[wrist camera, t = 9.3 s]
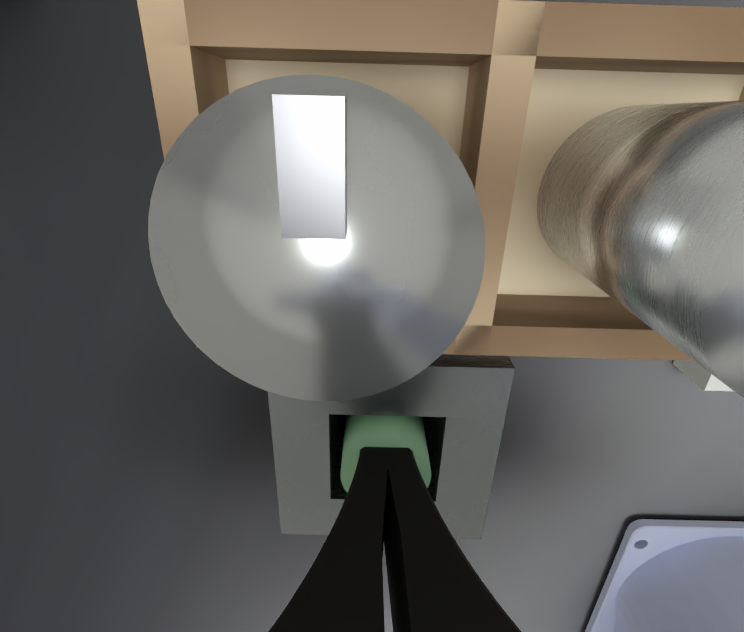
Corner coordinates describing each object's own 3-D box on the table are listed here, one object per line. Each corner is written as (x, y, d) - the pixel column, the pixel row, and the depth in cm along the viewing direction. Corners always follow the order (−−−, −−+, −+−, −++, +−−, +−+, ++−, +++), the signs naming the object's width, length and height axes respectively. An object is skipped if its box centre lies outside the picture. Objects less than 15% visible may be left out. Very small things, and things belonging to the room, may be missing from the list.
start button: (417, 438, 15) (427, 509, 12) (346, 436, 15) (340, 507, 12) (423, 378, 14) (435, 441, 11) (346, 376, 14) (340, 439, 11)
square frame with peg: (464, 472, 16) (481, 538, 14) (295, 468, 16) (281, 533, 14) (488, 320, 13) (514, 368, 11) (286, 315, 13) (265, 361, 11)
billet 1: (421, 267, 11) (468, 418, 6) (272, 263, 11) (169, 411, 6) (434, 100, 10) (519, 76, 4) (259, 96, 10) (93, 65, 4)
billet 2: (666, 276, 11) (954, 435, 6) (520, 264, 11) (667, 414, 6) (731, 113, 10) (1233, 109, 4) (561, 97, 10) (832, 69, 4)
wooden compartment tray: (676, 320, 13) (760, 376, 10) (218, 308, 13) (174, 361, 10) (786, 22, 10) (953, -15, 7) (175, 4, 10) (94, -42, 7)
